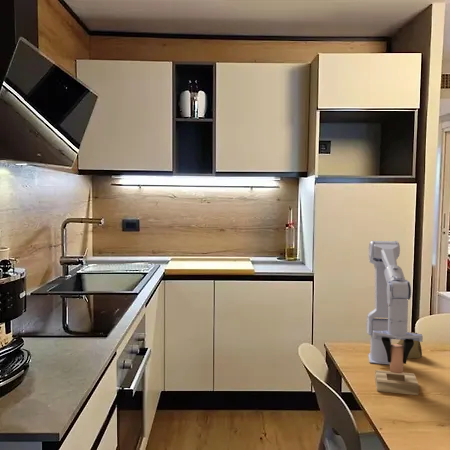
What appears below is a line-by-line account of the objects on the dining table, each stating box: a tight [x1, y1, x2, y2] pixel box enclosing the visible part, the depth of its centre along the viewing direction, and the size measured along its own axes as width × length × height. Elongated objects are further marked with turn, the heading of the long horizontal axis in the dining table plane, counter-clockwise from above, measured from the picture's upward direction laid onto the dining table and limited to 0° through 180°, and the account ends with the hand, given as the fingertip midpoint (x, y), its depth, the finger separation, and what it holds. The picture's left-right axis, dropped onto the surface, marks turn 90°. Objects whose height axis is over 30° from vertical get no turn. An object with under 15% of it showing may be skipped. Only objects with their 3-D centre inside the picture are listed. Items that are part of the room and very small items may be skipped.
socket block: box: [374, 369, 420, 396], centre depth 150 cm, size 10×12×3 cm
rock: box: [396, 331, 423, 359], centre depth 180 cm, size 11×9×10 cm
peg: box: [389, 343, 404, 373], centre depth 150 cm, size 4×4×8 cm
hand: (396, 362), depth 150 cm, fingers closed on peg, 4 cm apart
